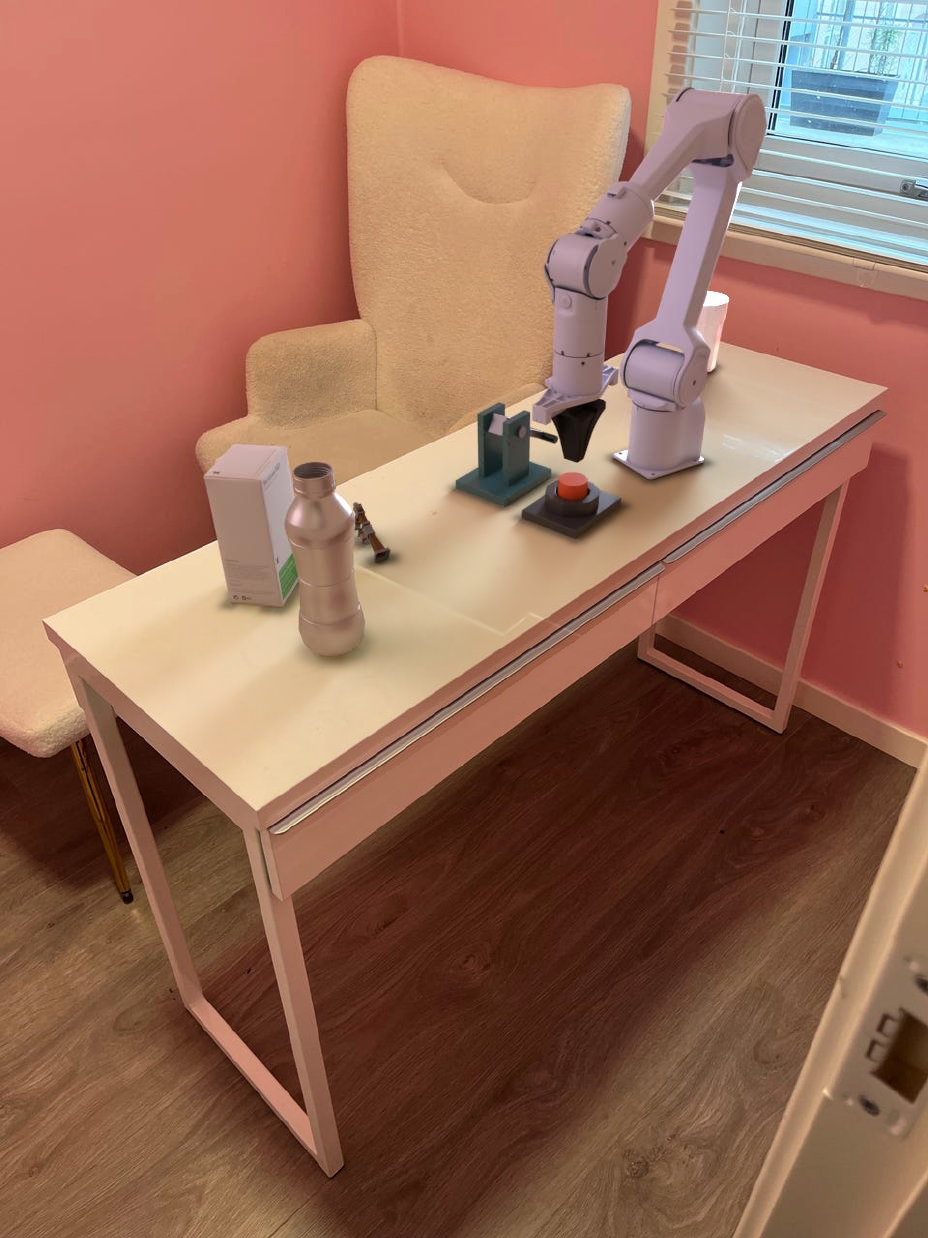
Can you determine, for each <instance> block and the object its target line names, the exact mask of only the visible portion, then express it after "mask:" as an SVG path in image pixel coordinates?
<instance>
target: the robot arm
mask: <svg viewBox="0 0 928 1238" xmlns="http://www.w3.org/2000/svg"><path fill="white" fill-rule="evenodd" d="M767 127H768V122H767V117H766V108H765V104H764V101H763V99H762V97H761V96H760V95H759V94H757V93H755V92H754V93H753V92H750V93H747V94H746V93H739V92H738V93H737V92H727V91H717V90H707V89H698V88H695V87H691V86H684V87H682V88H681V89H679V90H678V91H677V92H676V93H675V95H674V96H673V98H671V101H670V103H669V104H668V105H667V106H665V109H664V113H663V119H662V131H661V133H660V135H659V136H658V137H657V139H656V140H655V141H654V143H653V145H652V146H651V148H650V149H649V150H648V152H647V154H646V155H645V157H644V158H643V159H642V161H641V162H640V164H639V166H638V167H637V168H636V170H635V172H634V173H633V175H632V176H631V178H630V179H629V180H628V181H617V182H615V183H613V184H611V185H610V187H609V188H608V189H607V190H606V192H605V193H604V195H603V196H602V197H601V199H600V200H599V201H598V202H597V203H596V205H594V207H593V209H592V210H591V211H590V212H589V213H588V214H587V216H586V217H585V218H584V220H583V221H582V222H581V223H580V225H579V226H578V227H577V228H576V230H574V232H568V233H565V234H563V235H562V236H560V237H558V238H557V239H555V241H554V242H553V243H552V245H551V246H550V248H549V250H548V252H547V256H546V260H545V261H546V262H545V263H544V264H543V277H544V280H545V282H546V284H547V285H548V287H549V300H550V301H551V304H552V306H554V311H553V312H554V313H553V341H552V345H553V346H552V348H553V349H552V372H551V373H552V374H551V376H549V377H548V378H545V380H544V386H545V387H547V389H546V390H545V391H544V392H543V394H542V396H541V397H540V398H539V400H537V401H536V402H535V403H533V404H532V410H531V421H532V422H536V423H538V424H540V425H541V424H542V425H544V426H548V425H549V424H551V423H553V426H554V427H555V430H556V432H557V437H558V440H559V442H560V447H561V452H562V456H563V459H564V460H566V461H570V462H573V463H576V464H578V463H580V462H581V461H583V460H584V458H585V456H586V453H587V450H588V448H589V444H590V441H591V438H592V435H593V432H594V430H595V427H596V425H597V423H598V421H599V419H600V418H601V416H602V414H603V413H604V412H605V410H606V409H607V401H606V400H605V399H602V396H604V394H605V392H606V390H607V389H608V388H609V386H611V387H614V386H616V385H618V384H619V379H620V383H621V384H622V386H623V387H624V388H625V389H627V394H626V396H627V398H629V399H631V405H630V406H631V407H630V418H629V431H628V443H627V449H624V450H621V451H618V452H615V453H613V455H612V456H613V458H614V459H615V460H617V461H619V463H622V464H623V465H625V466H626V467H628V468H629V469H632V470H633V471H634V472H636V473H637V474H639V475H641V476H642V477H643V478H645V479H647V480H654V479H657V478H661V477H664V476H666V475H670V474H672V473H675V472H679V471H682V470H684V469H688V468H691V467H694V466H698V465H701V464H703V463H704V462H705V458H704V457H703V456H702V455H701V454H702V448H703V447H702V446H703V440H704V431H705V423H706V409H705V405H704V402H703V401H702V399H701V395H702V393H703V391H704V389H705V386H706V383H707V380H708V379H707V378H708V372H707V366H708V360H709V356H710V352H711V349H710V347H709V345H708V344H707V342H706V341H705V340H704V338H703V337H702V335H701V334H700V332H699V330H698V329H697V325H698V322H699V318H700V315H701V312H702V309H703V306H704V302H705V299H706V296H707V293H708V292H709V289H710V285H711V283H712V280H713V276H714V273H715V270H716V267H717V264H718V260H719V258H720V254H721V251H722V249H723V245H724V241H725V238H726V236H727V232H728V229H729V225H730V222H731V219H732V216H733V213H734V209H735V207H736V203H737V200H738V196H739V193H740V190H741V187H742V184H743V182H745V181H747V180H749V179H750V178H751V177H752V176H753V171H754V168H755V166H756V163H757V160H758V158H759V153H760V151H761V148H762V144H763V140H764V138H765V135H766V132H767ZM685 170H686V171H687V172H689V173H690V174H691V176H692V179H693V181H694V189H693V192H692V196H691V199H690V203H689V206H688V209H687V213H686V215H685V219H684V222H683V226H682V230H681V231H680V232H681V233H680V236H679V239H678V242H677V246H676V250H675V253H674V257H673V259H672V263H671V267H670V269H669V273H668V276H667V280H666V283H665V286H664V290H663V293H662V296H661V300H660V303H659V307H658V310H657V313H656V316H655V318H654V319H652V320H651V321H649V322H647V323H645V324H643V325H641V326H639V327H637V328H636V329H635V331H634V334H633V337H632V339H631V341H630V344H629V346H628V348H627V349H626V350H625V352H624V354H623V356H622V358H621V361H620V365H619V367H615V366H612V365H608V364H605V351H606V349H605V348H606V335H607V334H606V333H607V319H608V303H609V295H610V294H611V292H613V291H614V290H615V289H616V287H617V286H618V284H619V281H620V278H621V276H622V271H623V268H624V265H626V263H627V260H628V252H629V251H630V250H631V248H632V247H633V246H634V244H636V242H637V241H638V240H639V239H640V238H641V236H642V234H643V233H644V232H645V231H646V230H647V228H648V227H649V226H650V224H651V223H652V222H653V220H654V217H655V207H654V202H656V200H657V199H658V198H659V197H660V196H661V195H662V194H663V193H664V192H665V191H666V190H667V188H669V186H671V184H672V183H673V182H674V181H675V180H676V179H677V178H678V177H679V176H680V174H682V173H683V172H684V171H685ZM658 344H664V345H667V346H671V347H675V348H677V349H678V350H679V349H680V350H681V351H682V352H681V351H678V350H675V349H671V348H667V347H665V346H660V345H658Z"/></svg>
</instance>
